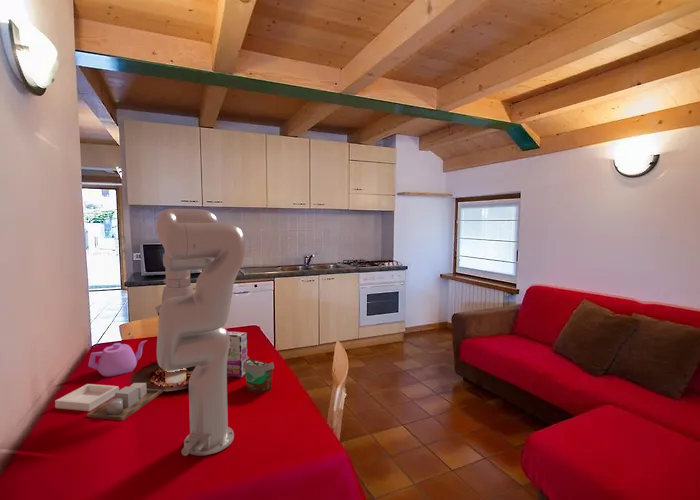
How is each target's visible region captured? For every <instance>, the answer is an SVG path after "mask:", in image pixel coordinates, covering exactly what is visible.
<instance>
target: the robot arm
mask: <svg viewBox="0 0 700 500" xmlns="http://www.w3.org/2000/svg"><path fill="white" fill-rule="evenodd" d="M243 232H244V231H243V230H242V229H241V228H240V227H239V226H237V225H234V224H231V223H224V222H219V220H218V218H217V216H216V215H215V214H214V213H213V212H211V211H210V210H206V209H200V208H199V209H198V208H167V209H165V210H163V211H162V212H161V213H160V214H159V215H158V218H157V221H156V233H157V237H158V239H159V241H160V243H161V245H162V247H163V249H164V253H163V254H162V264H163V265H162V266H163V267H164V268H165V278H163V283H164V284H165V286H164V287H163V290H162V294H161V304H159V305H157V306H155V308H154V309H155V311H156V313H157V316H158V319H157V320H158V322H157V333H156V334H157V337H156V360H157V365H158V366H159V368H161V370H163V371H167V372H170V371H177V370H178V369H183V368H188V367H192V366H196V367H195V369H194V370H192V372H191V373H190V377H189V380H188V403H189V406H188V407H189V408H188V410H189V434H188V435H187V436H186V437H185V439H184V440H183V448H182V449H181V455H182V456H184V457H186V456H188V455H189V454H190V455H192V456H200V457H201V456H209V455H212V454H216V453H218V452H219V453H220V452H221V451H223V450H224V449H227V447H229V446H230V445H232V443H233V441H234V438H235V433H234V430H233V429H232V428H231V427H230V426H228V425H229V423H228V422H229V419H228V414H229V412H228V376H227V360H228V353H229V347H230V337H229V333H228V330H227V329H226V328H225V327H224V326H225V325H226V323H227V322H228V319H229V314H230V309H231V302H232V296H233V289H234V285H235V281H236V279H237V277H238V275H239V272H240V270H241V268H242V265H243V264H244V258H245V254H246V238H245V234H244V233H243ZM191 271H201V272H200V274H199V275H198V277H197V278H196V281H195V291H194V289H193V286H191ZM178 371H179V370H178Z"/></svg>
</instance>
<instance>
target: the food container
mask: <svg viewBox="0 0 700 500" xmlns="http://www.w3.org/2000/svg"><path fill="white" fill-rule="evenodd" d="M243 368H244V369H245V373H246V375H245V382H246V389H247V391H249V392H251V393H256V394H257V393H265V392H269V391H270V390H272V384H273V383H272V382H273V381H272V380H273V371H274V369H275V364H274V362H273V361H272V362H270V363H267V362H265V361H262V360H254V359H251V358H250V356H247V358H246V359H245V361H244V364H243Z"/></svg>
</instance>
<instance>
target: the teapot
mask: <svg viewBox="0 0 700 500" xmlns="http://www.w3.org/2000/svg"><path fill="white" fill-rule="evenodd" d="M147 341H148V340H147V339H146V340H145V339H144V340H142V341H141V342H140V343H139V344H138V347H137V348H138V349H137V351H136V352H134V351H133V349H132V347H131V346H130V345H129V344H126V343H121V342H115V343H112V345H110V346H106V347H104V349H103V350H102V351H96V352H95V351H93V352H91V353H90V356H89V361H88V364H87V366H88V367H90V368H92V369H93V370H97V371H98V373H99V374H100V375H101V376H102V377H105V378H106V377H116V376H120V375H124V374H128V373H132V372H133V371H134V370H135V368H136V367H137V363H138V361H139V360H140V359H141V357H142V354H143V347H144V344H145V343H146V342H147ZM96 357H99V359H98V362H96Z"/></svg>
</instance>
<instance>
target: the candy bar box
mask: <svg viewBox="0 0 700 500" xmlns="http://www.w3.org/2000/svg"><path fill="white" fill-rule="evenodd" d="M227 331H228V330H227ZM228 333H229V337H230V347H229V353H228V360H227V377H231V378H239V379H241V378H243V377H245V376H246V373H245V369H244V368H243V364H244V361H245V359H246V358H247V357H248V335H247V334H248V333H247V332H242V331H241V332H240V331H231V330H229V331H228Z"/></svg>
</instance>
